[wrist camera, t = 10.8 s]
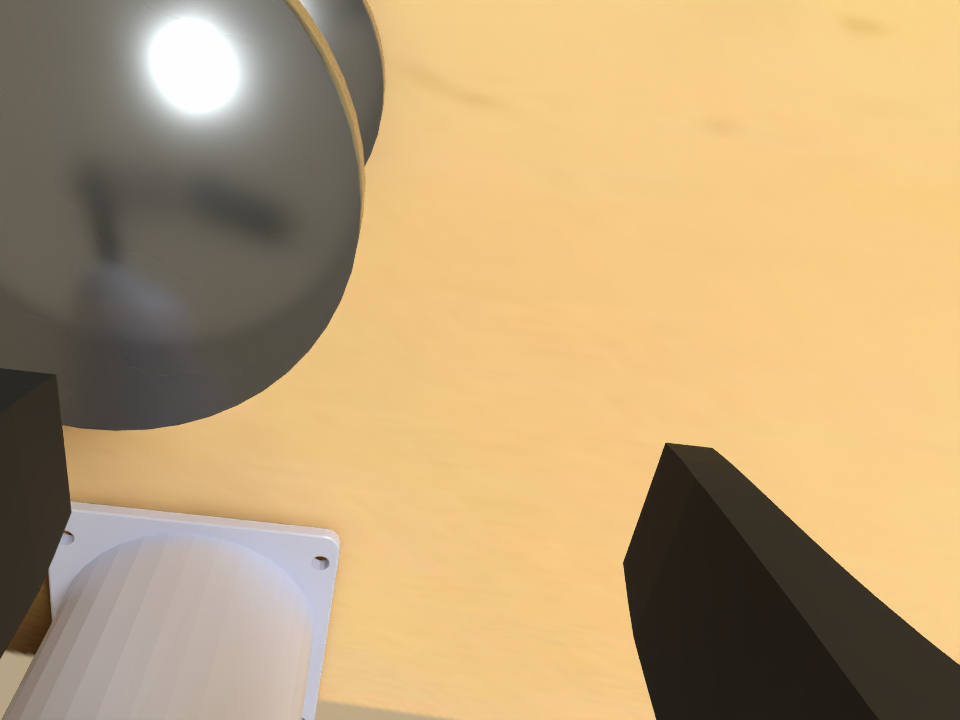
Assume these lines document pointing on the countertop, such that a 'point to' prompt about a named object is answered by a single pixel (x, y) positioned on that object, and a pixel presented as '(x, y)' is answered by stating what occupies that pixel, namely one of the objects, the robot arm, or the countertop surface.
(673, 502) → the robot arm
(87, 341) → the bobbin post
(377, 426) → the countertop surface
